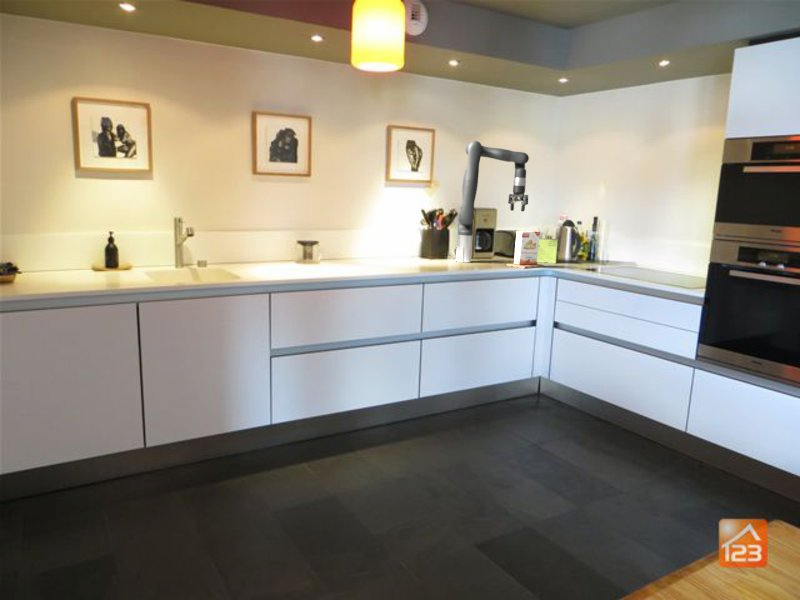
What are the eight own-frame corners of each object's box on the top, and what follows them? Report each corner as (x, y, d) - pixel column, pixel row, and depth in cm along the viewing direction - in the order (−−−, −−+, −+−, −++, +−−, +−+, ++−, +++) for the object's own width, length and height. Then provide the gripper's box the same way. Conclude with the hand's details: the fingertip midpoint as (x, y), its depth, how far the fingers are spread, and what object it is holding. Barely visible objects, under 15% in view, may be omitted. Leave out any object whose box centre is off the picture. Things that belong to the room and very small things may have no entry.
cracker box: (519, 265, 355) (522, 231, 352) (513, 264, 361) (516, 230, 357) (537, 264, 362) (540, 231, 358) (531, 263, 367) (533, 230, 363)
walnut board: (524, 268, 350) (524, 266, 350) (506, 265, 360) (506, 263, 360) (544, 266, 363) (544, 265, 363) (526, 264, 373) (526, 262, 373)
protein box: (555, 263, 386) (558, 240, 383) (532, 261, 391) (534, 238, 388) (556, 261, 396) (558, 239, 393) (533, 260, 400) (535, 237, 398)
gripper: (506, 184, 370) (504, 210, 373) (524, 185, 359) (522, 211, 362) (514, 185, 375) (512, 210, 378) (532, 185, 364) (529, 211, 367)
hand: (517, 211), depth 370 cm, fingers open, 8 cm apart
